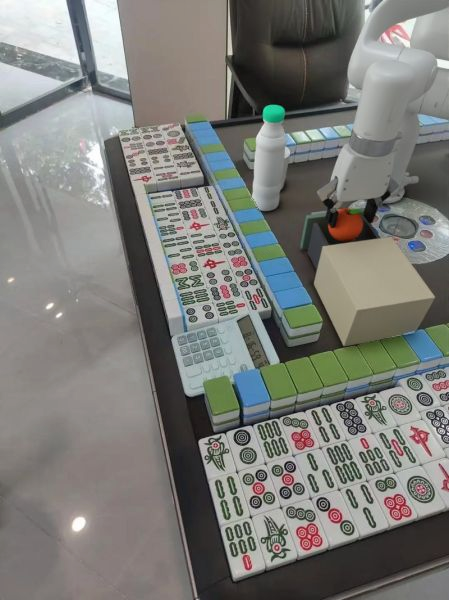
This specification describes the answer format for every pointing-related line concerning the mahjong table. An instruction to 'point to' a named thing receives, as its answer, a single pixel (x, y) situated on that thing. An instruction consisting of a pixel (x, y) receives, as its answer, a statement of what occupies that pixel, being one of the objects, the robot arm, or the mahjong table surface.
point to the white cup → (285, 166)
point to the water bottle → (269, 159)
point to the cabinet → (371, 290)
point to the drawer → (328, 234)
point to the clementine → (347, 225)
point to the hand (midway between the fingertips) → (349, 221)
